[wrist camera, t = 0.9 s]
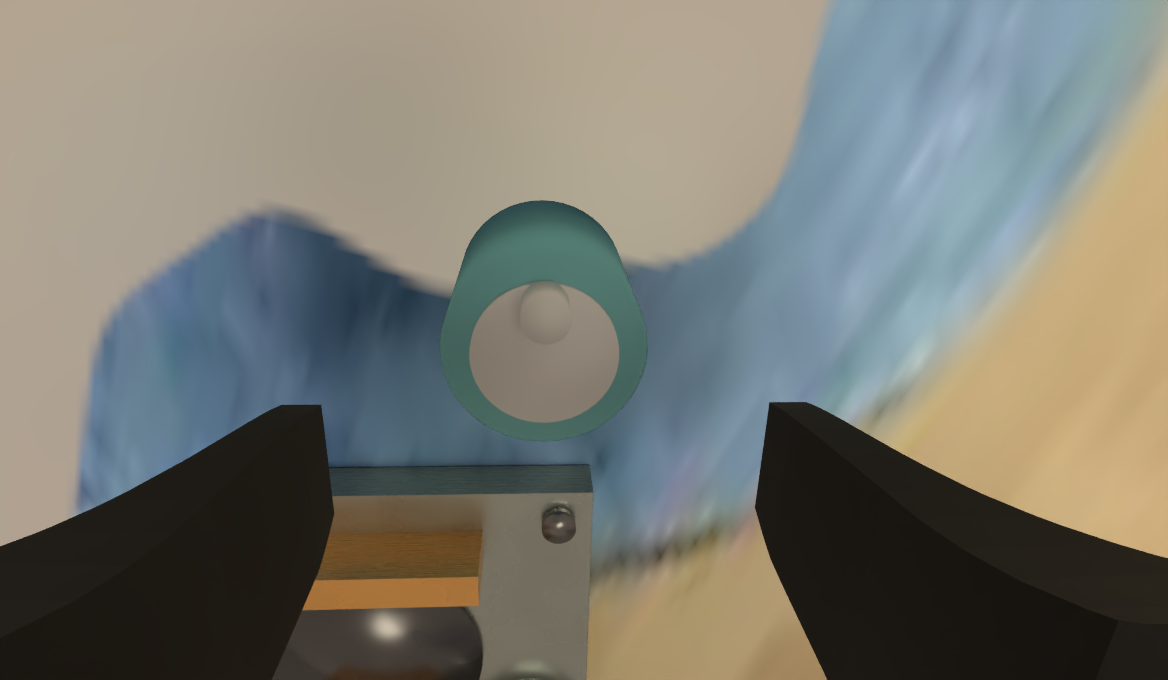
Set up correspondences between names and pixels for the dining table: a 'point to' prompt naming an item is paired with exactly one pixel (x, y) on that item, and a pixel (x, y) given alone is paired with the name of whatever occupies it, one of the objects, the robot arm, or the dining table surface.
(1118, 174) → the dining table surface
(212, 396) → the dining table surface
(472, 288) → the spout can
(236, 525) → the robot arm
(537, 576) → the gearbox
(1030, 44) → the dining table surface
